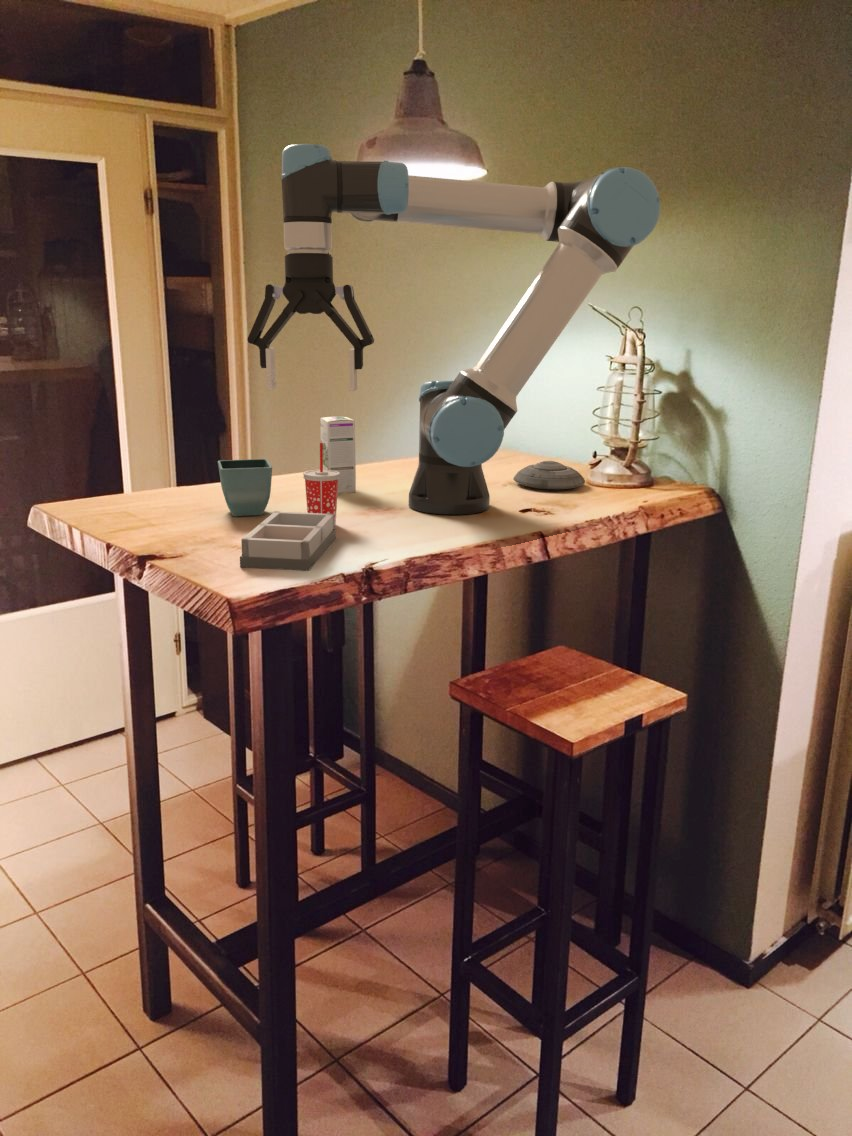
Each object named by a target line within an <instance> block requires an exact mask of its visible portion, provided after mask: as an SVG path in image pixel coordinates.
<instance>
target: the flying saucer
mask: <svg viewBox="0 0 852 1136" xmlns="http://www.w3.org/2000/svg"><path fill="white" fill-rule="evenodd" d="M513 481H515V482H516V483H517V484H520V485H521V486H524V487H528V488H534V489H540V490H569V489H574V488H578V487H581V486H583V485H584V484H585V483H586V481H585V478H584V477H583V475H582V474H581V473H580V472H579V471H577V470H576V469H574V468H573V467H571V466H567V465H565V464H563V463H560V462H558V461H554V460H544V461H543V460H542V461H540V462H538V463H535V464H530V465H527V466H525V467H523V468H522V469H520V470H519V471H517V472H516V474H515V475H514V476H513Z"/></svg>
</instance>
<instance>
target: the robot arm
mask: <svg viewBox="0 0 852 1136" xmlns="http://www.w3.org/2000/svg"><path fill="white" fill-rule="evenodd" d="M281 191H282V192H281V193H282V194H281V196H282V213H283V214H282V216H283V248H284V250H285V251H287V252H288V253H286V254H285V255H284V274H285V275H284V277H285V283H284V285H283V286H279V285H275V284H273V283H272V284H270V283H269V284H267V285H265V287H264V288H265V290H264V299H263V302H262V304H261V307H260V309H259V310H258V314H257V316H256V318H255V320H254V323H253V324H252V327H251V330H250V331H249V335H248V336H247V343H248V344H250V345H251V344H252V345H254V346H257V347H258V349H259V364H260V368H261V369H265V370H266V371H265V372H266V387H267V388H266V389H267V390H268V391H269V390H271V391H272V390H275V389H276V388H277V387H276V386H277V385H276V384H277V383H276V382H277V381H276V360H275V359H276V358H275V356H276V355H275V347H270V346H271V344H272V342H273V341H274V340H275V339H276V338H277V336H278V335H279V333H280V332H281V331H282V329H284V327H285V326H286V325H287V323H288V322H289V320H291V318H292V317H293V316H294V315H295V314H296V313H297V314H299V315H304V314H309V313H310V314H313V315H319V314H323V313H324V314H326V316H327V317H328V318H329V319H330V320H331V321H332V322H333V324H334V326H336V327H337V328H338V330H339V331H340V332H341V334H343V335H344V337H345V338H346V339H347V340H348V342H349V343H350V345H352V347H353V348H350V349H349V351H348V354H349V355H348V357H349V361H348V362H349V365H348V366H349V372H348V373H349V391H350V392H354V391H357V390H358V370H362V369H363V368H364V349H365V348H366V347H368V346H371V345H373V344H374V343H375V338H374V337H373V334H372V331H371V330H370V327H369V325H368V324H367V321H366V319H365V318H364V315H363V313H362V311H361V309H360V308H359V305H358V304H357V302H356V299H355V293H354V287H353V285H352V284H345V285H343V286H335V283H334V270H333V269H334V265H333V263H334V261H333V259H334V257H333V256H332V254H331V253H329V251H332V250H333V221H332V219H333V218H332V215H333V213H337V214H338V213H339V214H342V213H345V214H351V216H352V217H353V218H355V219H356V220H358V221H362V222H368V223H369V222H374V221H380V222H381V221H382V222H394V223H395V222H397V223H407V224H418V225H431V226H441V227H442V226H443V227H445V226H446V227H457V228H464V229H465V228H466V229H477V230H478V229H479V230H486V231H487V230H490V231H501V232H512V233H513V232H514V233H521V234H522V233H524V234H525V233H526V234H535V235H536V234H537V235H539V236H540V238H541V239H542V241H545V242H546V241H547V242H557V243H558V245H557V246H556V248H555V249H554V250H553V252H552V254H551V255H550V256H549V258H548V259H547V261H546V262H545V264H543V266H542V268H541V269H540V271H539V273H537V275H536V277H535V278H534V279H533V281H532V282H531V284H530V286H528V288H527V290H526V291H525V293H524V294H523V295H522V297H521V298H520V299H519V301H518V303H517V304H516V306H515V307H514V308H513V310H512V311H511V313H510V314H509V316H508V317H507V319H506V320H505V321H504V323H503V325H502V326H501V327H500V328H499V331H498V332H497V334H496V335H495V336H494V338H493V339H492V340H491V342H490V344H489V345H488V347H487V348H486V349H485V350H484V352H483V353H482V355H481V356H480V358H479V359H478V360H477V363H476V364H475V365H474V366H473V367H471V368H467V369H462V370H460V371H459V373H458V374H457V375H456V377H455V378H454V379H453V380H432V381H425V382H423V383H422V384H421V387H420V391H419V393H420V394H419V397H418V401H419V434H418V435H419V436H418V438H419V439H418V466H417V469H416V470H415V471H416V472H415V475H414V477H413V480H412V483H411V486H410V489H409V492H408V507H409V509H412V510H414V511H419V512H422V513H428V514H436V515H437V514H438V515H455V516H456V515H471V514H478V513H482V512H485V511H487V510H490V503H491V502H490V501H491V500H490V499H491V496H490V492H489V489H488V485H487V481H486V478H485V474H484V472H483V466H482V465H483V464H484V463H486V462H488V461H490V460H491V459H492V458H493V457H494V456H495V455H496V454H497V452H498V451H499V449H500V447H501V446H502V442H503V439H504V435H505V429H506V428H507V426H508V425H509V424H510V422H511V421H512V420H513V418H514V417H515V415H516V414H517V412H518V405H517V397H518V395H519V393H520V392H521V391H522V389H523V388H524V386H525V385H526V383H527V382H528V381H529V379H531V376H532V375H533V374H534V372H535V371H536V369H537V367H538V366H539V365H540V364H541V362H542V361H543V359H544V358H545V356H546V355H547V354H548V352H549V351H550V350H551V348H552V347H553V345H554V344H555V342H556V341H557V340H558V337H560V335H561V333H562V332H563V331H564V329H565V328H566V326H568V323H569V322H570V321H571V320H572V318H573V317H574V315H575V314H576V313H577V311H578V309H579V308H580V307H581V305H582V304H583V303H584V301H585V299H586V298H587V296H588V295H589V294H590V293H591V291H592V289H593V288H594V286H595V285H596V284H597V282H598V281H599V279H600V278H601V277H602V275H604V274H609V273H613V272H614V273H615V272H616V271H617V270H618V268H619V267H620V266H621V264H622V263H623V261H624V260H625V259H626V257H627V256H628V255H629V253H630V252H631V250H632V249H633V247H634V246H636V245H638V244H640V243H642V242H643V241H645V240H646V239H647V238H648V237H649V235H651V234H652V232H653V231H654V229H655V227H656V226H657V224H658V221H659V217H660V214H661V203H660V202H661V201H660V200H661V199H660V195H659V192H658V189H657V187H656V184H655V183H654V182H653V180H652V179H651V178H650V177H649V176H648V175H647V174H645V173H644V172H643V171H641V170H639V169H637V168H634V167H628V166H626V167H625V166H624V167H621V166H620V167H619V166H618V167H617V166H616V167H611V168H608V169H605V171H603V172H601V173H600V174H598V175H595V176H593V177H590V178H588V179H587V178H586V179H583V180H579V181H571V182H569V181H568V182H562V181H560V182H558V181H550V182H549V183H547V184H546V185H545V186H542V187H541V186H531V185H519V184H508V183H499V182H488V181H477V180H476V181H474V180H462V179H451V178H442V177H432V176H431V177H430V176H420V175H418V176H417V175H409V171H408V167H407V165H406V164H404V162H397V161H396V162H395V161H389V160H383V161H382V160H381V161H367V160H366V161H364V160H363V161H361V160H359V161H357V160H356V161H354V160H353V161H351V160H348V161H347V160H337V159H333V158H332V156H331V150H330V148H329V147H328V146H325V145H324V144H312V143H296V144H295V143H294V144H290V145H287V146H286V147H285V148H284V149H283V150H282V153H281ZM282 294H283V296H284V297H285V299H286V300H287V302H288V303H287V304H286V305H285V307H284V308H283V309H282V312H281V313H280V314H279V315H278V317H277V318H276V319H275V320H274V322H273V323H272V325H271V326H270V327H269V328H268V330H267V331H266V333H265V334H264V335H263V336H262V338H261V335H262V334H263V332H264V329H265V327H266V324H267V322H268V320H269V317H270V315H271V313H272V311H273V308H274V306H275V303H276V300H279V299H280V297H281V295H282ZM336 295H338V296H339V298H340V300H343V301H344V303H345V305H346V307H347V309H348V311H349V313H350V315H351V318H352V319H353V321H354V323H355V325H356V328H357V329H358V331H359V333H360V336H361V338H362V339H360V337H359V336H358V335H357V333H355V330H353V329H352V327H350V325H349V324H348V322H347V321H346V320H345V318H343V316H342V315H341V314H340V313H339V311H338V310H337V308H336V307H335V306H334V304H333V303H332V302H333V300H334V298H335V296H336Z"/></svg>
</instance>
